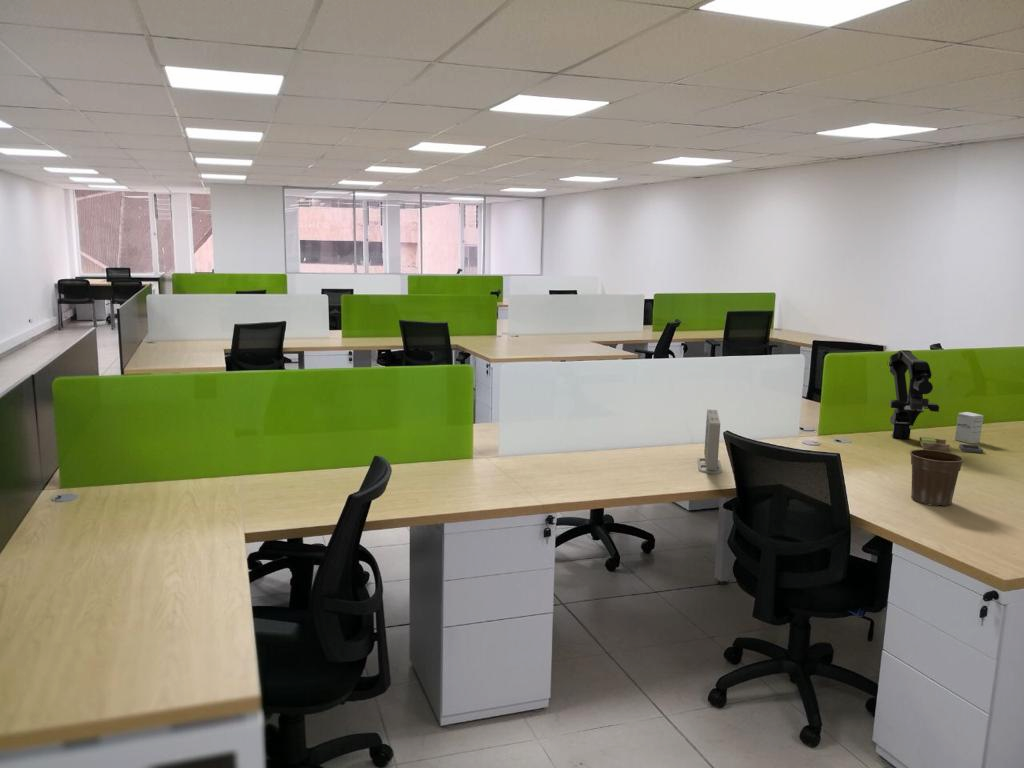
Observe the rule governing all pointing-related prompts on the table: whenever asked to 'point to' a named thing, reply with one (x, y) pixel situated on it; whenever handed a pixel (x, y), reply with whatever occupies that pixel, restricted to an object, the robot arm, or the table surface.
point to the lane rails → (936, 445)
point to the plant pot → (934, 476)
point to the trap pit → (970, 448)
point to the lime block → (927, 440)
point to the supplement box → (969, 427)
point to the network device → (711, 444)
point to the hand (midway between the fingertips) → (911, 424)
